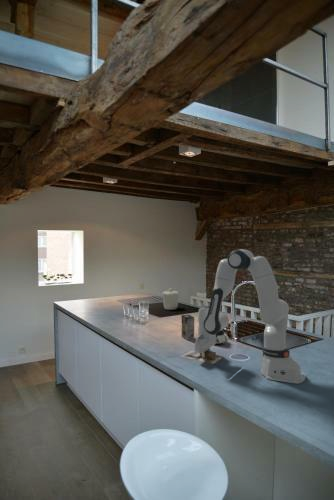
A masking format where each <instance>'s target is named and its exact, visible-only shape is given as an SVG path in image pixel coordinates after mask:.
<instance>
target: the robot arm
mask: <svg viewBox="0 0 334 500" xmlns="http://www.w3.org/2000/svg"><path fill="white" fill-rule="evenodd" d="M216 268H217V270H216V273H215V278H214V279H215V280H214V285H213V290H212V293H211V297H210V302H209V305H205V306H201V307H200V308H199V309H198V315H197V321H198V327H197V337H196V339H195V342H194V351H195V352H197V353H201V354H202V357H206V354H205V350H207V351H211V348H212V347H214V346H216V345H215V343H216V334H217V333H218V332H219V331H221V330H223V331H224V329H226V328H227V327H228V325H229V323H230V322H229V321H230V320H229V317H228V315H227V314H226V313H223V312H221V308H222V304H223V302H224V300H225V298H226V297H227V296H228V295H229V294H231V293H232V291H233V289H234V286H235V283H236V282H235V281H236V274H237V272H238V270H244V271H245V270H248V271H249V272H250V274H251V277H252V280H253V283H254V287H255V289H256V292H257V297H258V304H259V318H260V320H261V321H262V322H263V323H264V324H265V328H264V331H263V347H262V357H263V360H262V364H261V369H260V374H261V375H262V376H264V377H265V378H266V379H267V380H270V381H277V382H283V383H289V384H295V385H300V384H302V383H303V382H305V381H306V378H307V377H306V374H305V373H304V372H302V369H301V365H300V364H299V363H298V362H297V361H296V360H295V359H294V358H293V357H291V356H290V353H291V349H287V347H286V342H287V341H286V340H287V337H286V336H287V335H286V334H287V328H288V327H287V326H288V320H289V312H290V306H289V304H288V302H287V301H285V300H283V299H280V297H279V286H278V283H277V280H276V277H275V274H274V272H273V269H272V266H271V265H270V263H269V261H268V259H267V257H265V256H262V255H257V256H256V255H255V253H254V251H252V250H250V249H247V248H245V249H243V248H239V249H234V250H232V251H231V252H230V253H229V254H228V256H227V258H224V259H221V260H219V263H218V266H217V267H216Z"/></svg>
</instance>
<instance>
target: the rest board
mask: <svg viewBox="0 0 334 500" xmlns="http://www.w3.org/2000/svg"><path fill="white" fill-rule="evenodd" d="M191 351H192V350H189V352H191ZM189 352H187V353H184V354H183V355H181V357H182V358H185V359H186V358H187V359H190V360H195V361H199V362H203V363H208V364H213V365H214V364H216V363H217V362H219V361H220V360H222V359H223V357H221V356H216V359H215V360H209V359H204V358H198V359H197V358H192V357H188V356H186V354H188V353H189Z"/></svg>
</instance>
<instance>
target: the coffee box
mask: <svg viewBox="0 0 334 500" xmlns="http://www.w3.org/2000/svg"><path fill="white" fill-rule="evenodd" d="M181 337H182V338H183V339H184V340H186V341H190V340H195V317H194V316H193V315H191V314H182V315H181Z"/></svg>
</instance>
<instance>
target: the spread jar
mask: <svg viewBox="0 0 334 500" xmlns="http://www.w3.org/2000/svg"><path fill="white" fill-rule="evenodd" d="M229 341H230V338H229V336H228V335H227V333H226V332H225V331H224V329H223V330H221V331H219V332H218V333H217V334H216V343H215V345H214V346H222V345H223V344H224V343H228V342H229Z"/></svg>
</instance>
